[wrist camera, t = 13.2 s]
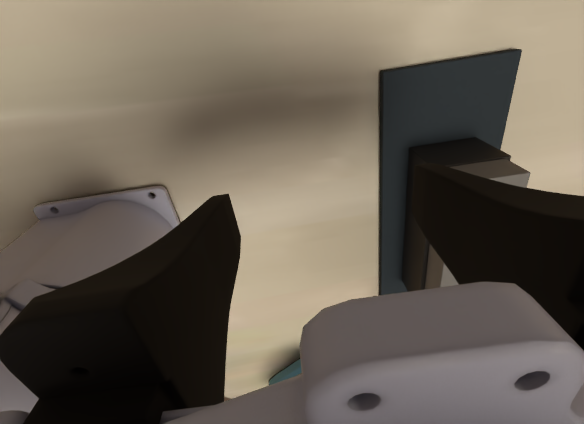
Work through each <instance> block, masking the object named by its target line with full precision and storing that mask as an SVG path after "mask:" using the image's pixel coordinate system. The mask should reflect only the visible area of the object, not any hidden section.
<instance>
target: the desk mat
mask: <svg viewBox="0 0 584 424" xmlns="http://www.w3.org/2000/svg"><path fill="white" fill-rule="evenodd" d="M521 52H522V50H521V49H512V50H506V51H500V52H494V53H488V54H482V55H476V56H469V57H463V58H457V59H451V60H445V61H439V62H433V63H427V64H420V65H414V66H408V67H402V68H396V69H390V70H384V71H381V72H380V275H379V296H381V295H388V294H395V293H403V292H408V291H407V289H406V287H405V285H404V283H403V281H402V270H403V252H404V234H405V216H406V198H407V180H408V162H409V148H410V147H415V146H422V145H428V144H435V143H441V142H448V141H454V140H461V139H467V138H474V137H477V138H478V139H480V140H482V141H484V142H486V143H488V144H490V145H492V146H493V147H495V148H497V149H499V150H500V149H501V144H502V140H503V135H504V130H505V126H506V121H507V116H508V112H509V107H510V103H511V98H512V93H513V89H514V84H515V80H516V75H517V70H518V66H519V61H520V57H521Z"/></svg>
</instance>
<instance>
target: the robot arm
mask: <svg viewBox="0 0 584 424" xmlns="http://www.w3.org/2000/svg"><path fill="white" fill-rule="evenodd" d="M150 192H153V193H154V194H155V195H156V196H152V195H151V194H150ZM54 207H55V208H57V209H58V210H56V209H55V208H54ZM33 211H34V213H35V215H36V216H37V218H38V219H39V221H38V222H37V223H35V224H34V225H33V226H32V227H30V228H29V229H28V230H27V231H25V232H24V233H23V234H22V235H20V236H19V237H18V238H17V239H15V240H14V241H13V242H12V243H11V244H9V245H8V246H7V247H6V248H4V249H3V250H2V251H1V252H0V424H584V196H577V195H568V194H560V193H553V192H546V191H541V190H535V189H530V188H524V187H520V186H515V185H511V184H507V183H503V182H499V181H495V180H491V179H487V178H484V177H480V176H477V175H473V174H470V173H467V172H463V171H460V170H457V169H454V168H450V167H447V166H443V165H439V164H433V163H428V164H422V165H415V166H414V180H413V194H412V209H411V212H412V214H413V216H414V218H415V220H416V222H417V224H418V226H419V228H420V230H421V232H422V233H423V235H424V236H425V237H426V239H427V240H428V242H429V243H430V244H431V246H432V247H433V249H434V250H435V251H436V253H437V254H438V255H439V257H440V258H441V260H442V261H443V262H444V264H445V265H446V266H447V268H448V269H449V271H450V272H451V273H452V275H453V276H454V278H455V280H456V281H457V283H458V284H459V285H454V286H446V287H439V288H432V289H424V290H417V291H410V292H403V293H395V294H388V295H381V296H373V297H366V298H359V299H352V300H348V301H345V302H342V303H339V304H336V305H333V306H330V307H327V308H324V309H323V310H321V311H320V312H319V313H318V314H317V315H316V316H315V317H314V318H313V319H311V320H310V321H309V322H308V323H307V324H306V325H305V326H304V327H303V331H302V336H301V341H300V358H301V371H302V374H300V375H297V376H295V377H292V378H289V379H286V380H283V381H281V382H278V383H275V384H272V385H269V386H267V387H264V388H261V389H258V390H255V391H253V392H250V393H247V394H244V395H242V396H239V397H236V398H233V399H230V400H228V401H225V402H224V386H225V362H226V346H227V332H228V320H229V311H230V304H231V299H232V294H233V289H234V284H235V280H236V275H237V270H238V264H239V259H240V244H241V235H240V232H239V228H238V225H237V221H236V218H235V214H234V211H233V207H232V204H231V200H230V197H229V194H224V195H217V196H213V197H211V198H210V199H208V200H207V201H206V202H205V203H203V204H202V205H201V206H200V207H199V208H198V209H197V210H195V211H194V212H193V213H192V214H191V215H190V216H188V217H187V218H186V219H185V220H184V221H182V222H181V223H180V222H179V219H178V217H177V214H176V212H175V209H174V207H173V204H172V202H171V199H170V197H169V194H168V192H167V190H166V188H164V187H162V186H153V187H146V188H140V189H133V190H127V191H120V192H114V193H107V194H101V195H94V196H88V197H81V198H75V199H68V200H62V201H55V202H49V203H42V204H38V205H37V206H35V207H34V209H33Z"/></svg>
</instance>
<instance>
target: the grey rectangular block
mask: <svg viewBox="0 0 584 424" xmlns="http://www.w3.org/2000/svg"><path fill="white" fill-rule="evenodd" d="M510 158H511V156H510V155H508V154H506V153H505V152H503V151H501V150H499V149H497V148H495V147H493V146H492V145H490V144H488V143H486V142H484V141H482V140H480V139H478V138H477V137H474V138H467V139H461V140H454V141H448V142H441V143H435V144H428V145H422V146H415V147H410V148H409V162H408V180H407V198H406V216H405V234H404V252H403V270H402V281H403V283H404V285H405V287H406V289H407V291H408V292H410V291H417V290H424V289H432V288H439V287H446V286H454V285H459V284H458V283H457V281H456V280H455V278H454V276H453V275H452V273H451V272H450V271H449V269H448V268H447V266H446V265H445V264H444V262H443V261H442V260H441V258H440V257H439V255H438V254H437V253H436V251H435V250H434V249H433V247H432V246H431V244H430V243H429V242H428V240H427V239H426V237H425V236H424V235H423V233H422V232H421V230H420V228H419V226H418V224H417V222H416V220H415V218H414V216H413V214H412V212H411V209H412V194H413V180H414V166H415V165H422V164H428V163H433V164H439V165H443V166H447V167H450V168H454V169H457V170H460V171H463V172H467V173H470V174H473V175H477V176H480V177H484V178H487V179H491V180H495V181H499V182H503V183H507V184H511V185H515V186H520V187H524V188H526V187H527V184H528V180H529V177H530V172H529V171H527V170H525V169H523V168H521V167H520V166H518V165H516V164H514V163H512V162H511V161H510Z"/></svg>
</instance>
